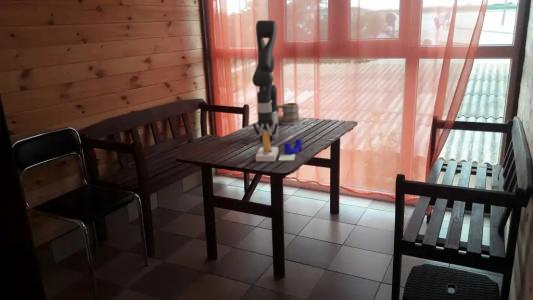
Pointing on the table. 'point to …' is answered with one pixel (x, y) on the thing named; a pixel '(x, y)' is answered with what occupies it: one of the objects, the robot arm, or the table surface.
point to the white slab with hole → (267, 154)
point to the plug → (266, 141)
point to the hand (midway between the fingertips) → (266, 141)
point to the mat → (286, 157)
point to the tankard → (289, 114)
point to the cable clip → (295, 149)
